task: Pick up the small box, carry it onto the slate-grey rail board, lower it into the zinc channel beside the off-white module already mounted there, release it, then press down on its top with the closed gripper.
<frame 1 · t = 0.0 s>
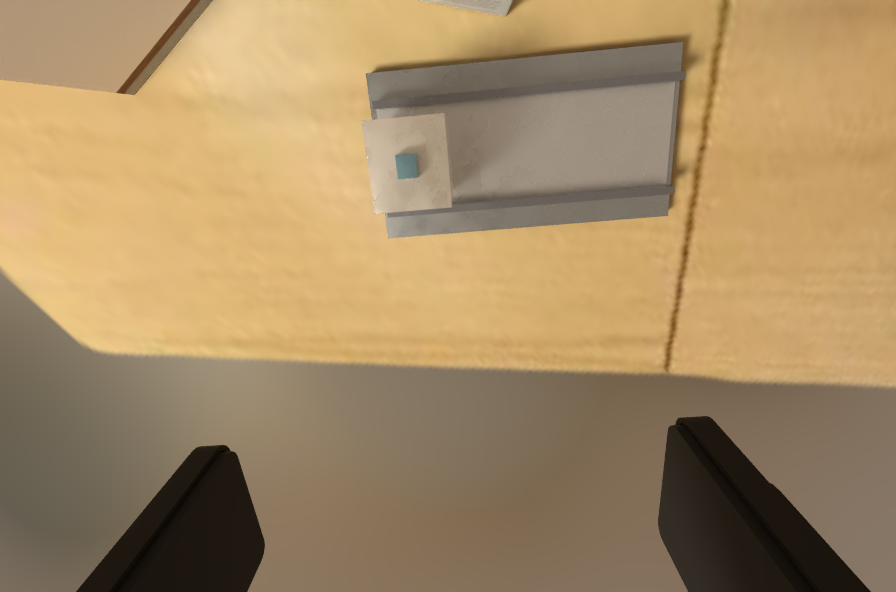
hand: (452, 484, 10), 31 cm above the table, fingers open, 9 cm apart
rail board: (521, 147, 37), on the table
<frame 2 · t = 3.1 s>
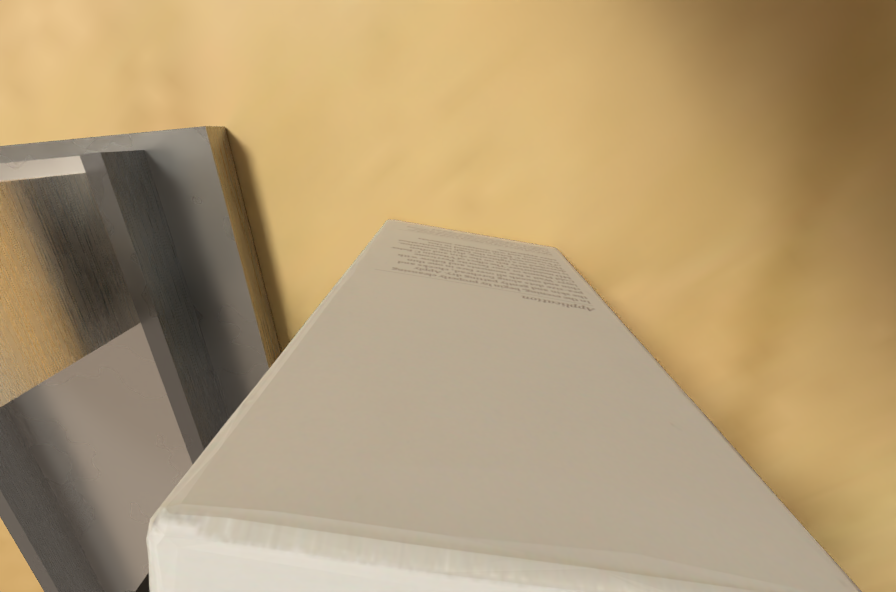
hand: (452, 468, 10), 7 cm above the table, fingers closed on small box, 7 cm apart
rail board: (153, 436, 19), on the table
small box: (455, 328, 17), on the table, touching gripper
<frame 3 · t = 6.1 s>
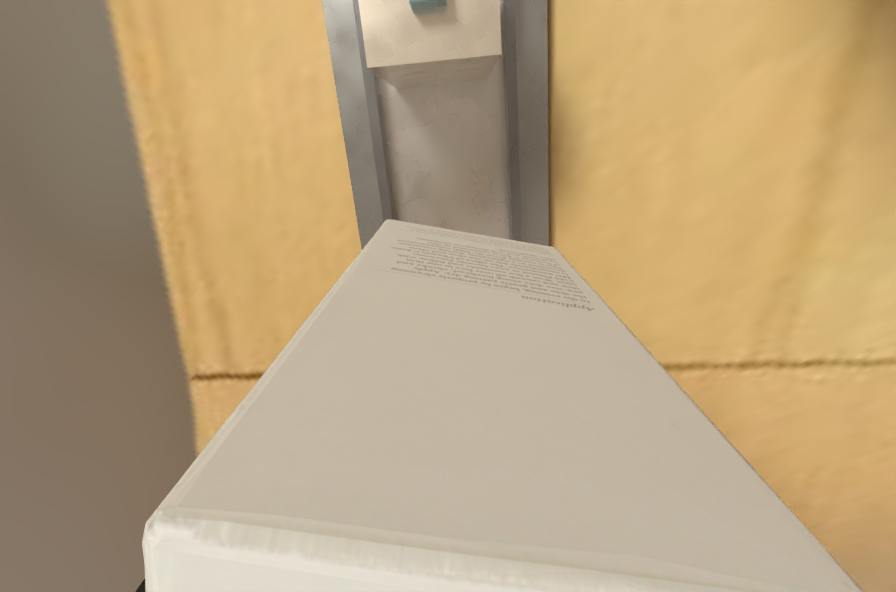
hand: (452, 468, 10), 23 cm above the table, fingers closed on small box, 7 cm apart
rail board: (449, 182, 30), on the table
small box: (454, 328, 17), point 15 cm above the table, touching gripper
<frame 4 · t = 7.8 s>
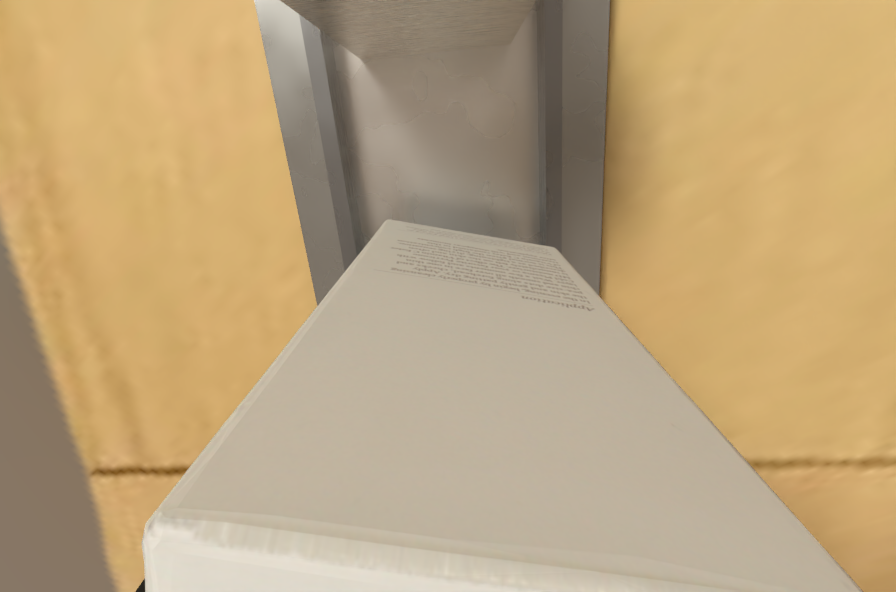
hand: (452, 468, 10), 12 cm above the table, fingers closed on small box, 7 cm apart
rail board: (449, 206, 20), on the table
small box: (454, 328, 17), point 4 cm above the table, touching gripper
when the fingers open (10 cm above the table, at t = 8.9 s): small box stays where it is, resting on rail board.
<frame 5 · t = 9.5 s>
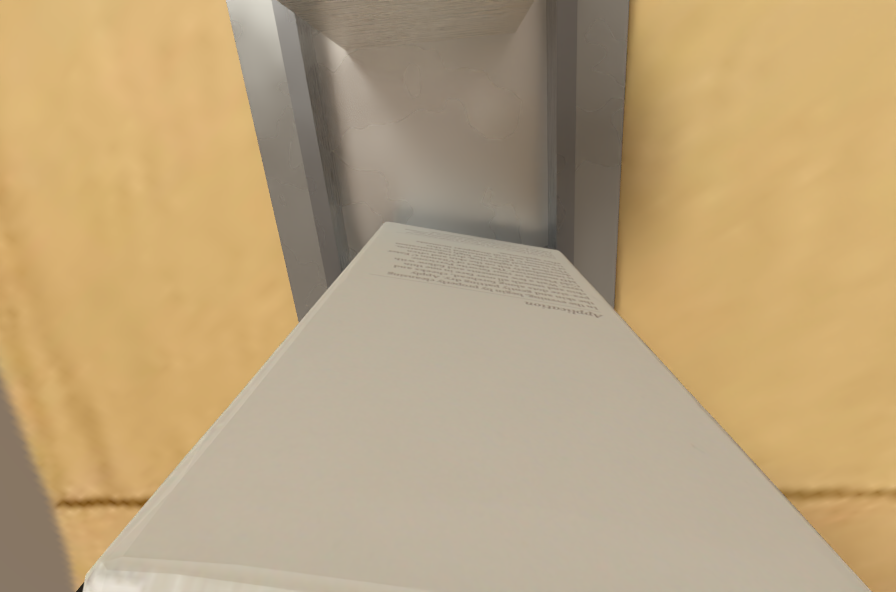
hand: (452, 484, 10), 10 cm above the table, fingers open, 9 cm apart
rail board: (446, 216, 18), on the table
small box: (455, 334, 17), point 3 cm above the table, touching rail board
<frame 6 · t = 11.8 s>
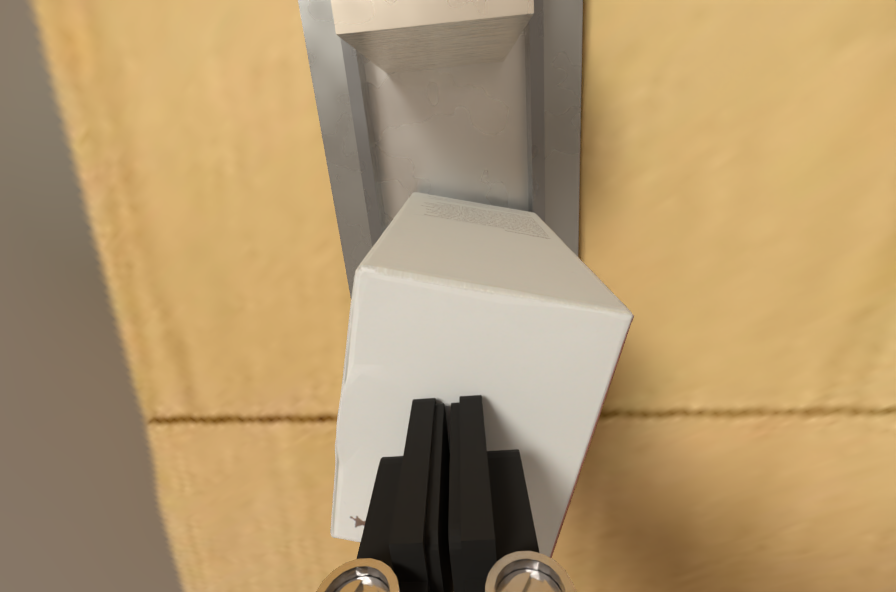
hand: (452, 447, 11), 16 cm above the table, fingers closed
rail board: (455, 191, 24), on the table
small box: (461, 275, 23), point 3 cm above the table, touching gripper, rail board
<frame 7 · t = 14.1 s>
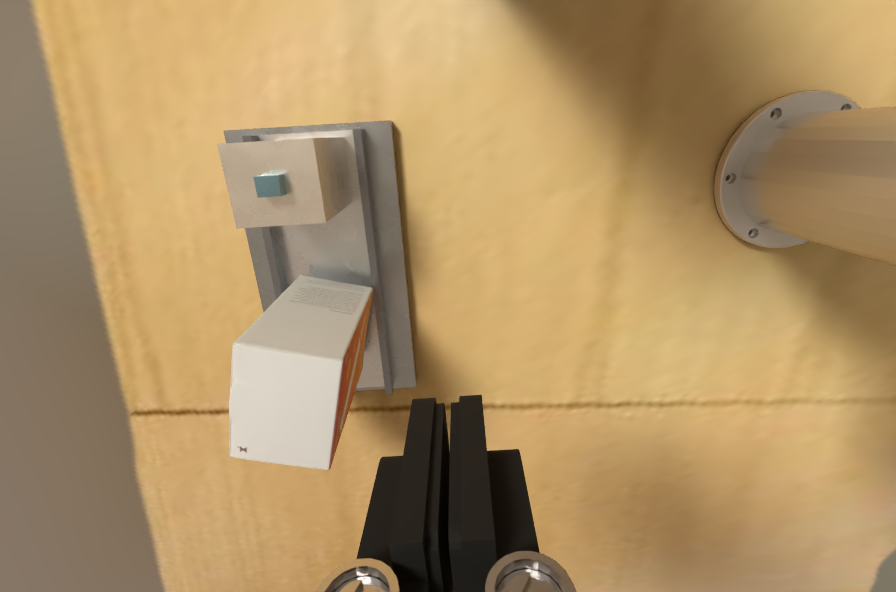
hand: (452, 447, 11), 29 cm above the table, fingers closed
rail board: (333, 269, 39), on the table
small box: (333, 322, 38), point 3 cm above the table, touching rail board
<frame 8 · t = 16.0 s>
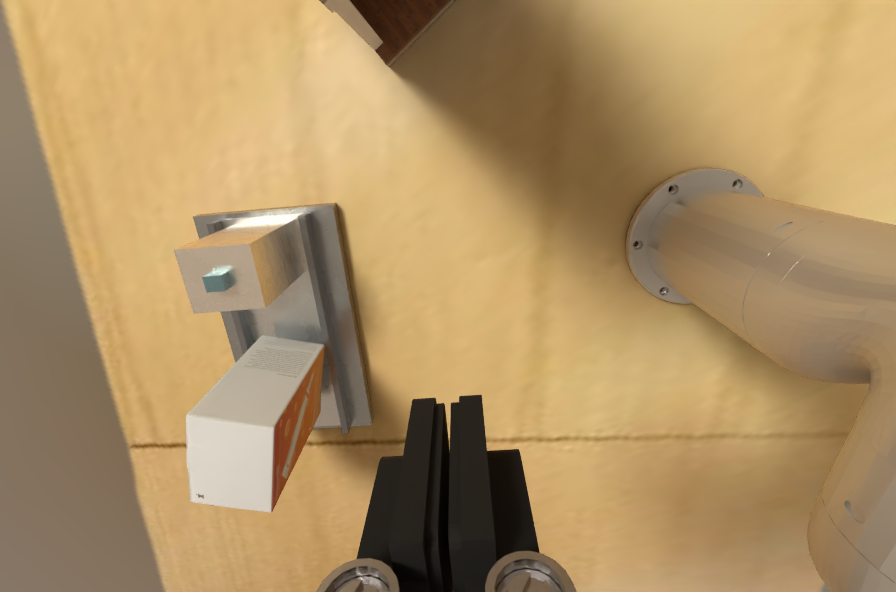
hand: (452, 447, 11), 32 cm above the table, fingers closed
rail board: (294, 325, 45), on the table
small box: (293, 372, 44), point 3 cm above the table, touching rail board
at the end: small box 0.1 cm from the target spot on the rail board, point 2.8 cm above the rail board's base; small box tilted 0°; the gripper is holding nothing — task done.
